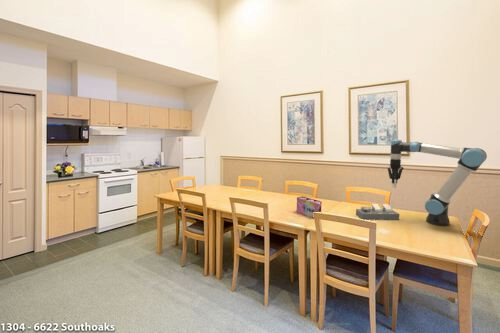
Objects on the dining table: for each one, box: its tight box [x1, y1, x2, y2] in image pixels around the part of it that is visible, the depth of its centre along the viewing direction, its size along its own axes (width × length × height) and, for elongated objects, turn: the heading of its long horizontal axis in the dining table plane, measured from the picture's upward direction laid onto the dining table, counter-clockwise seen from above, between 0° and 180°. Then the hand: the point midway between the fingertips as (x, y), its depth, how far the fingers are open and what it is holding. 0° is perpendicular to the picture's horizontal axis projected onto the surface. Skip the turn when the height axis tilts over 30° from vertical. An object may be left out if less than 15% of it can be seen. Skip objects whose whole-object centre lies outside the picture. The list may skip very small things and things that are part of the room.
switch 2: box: [381, 203, 394, 212], centre depth 220 cm, size 5×9×2 cm, turn 179°
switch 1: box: [371, 203, 382, 212], centre depth 220 cm, size 5×9×2 cm, turn 179°
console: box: [355, 206, 400, 221], centre depth 219 cm, size 30×14×8 cm, turn 89°
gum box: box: [296, 196, 322, 219], centre depth 226 cm, size 24×8×14 cm, turn 33°
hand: (394, 187), depth 214 cm, fingers closed
